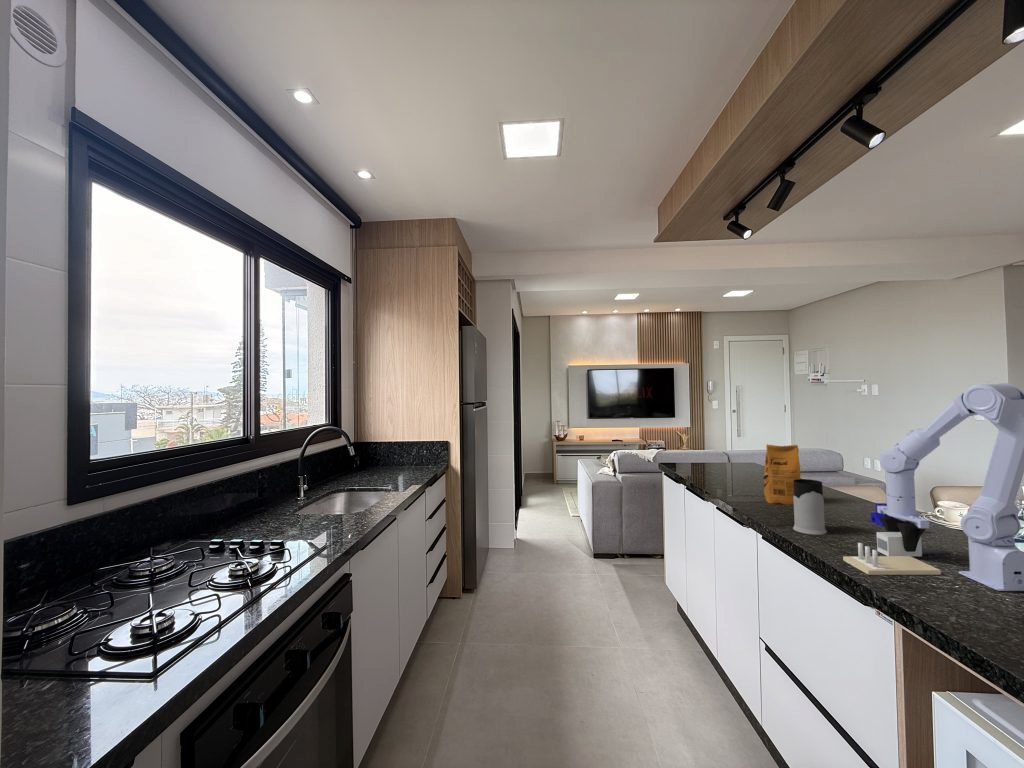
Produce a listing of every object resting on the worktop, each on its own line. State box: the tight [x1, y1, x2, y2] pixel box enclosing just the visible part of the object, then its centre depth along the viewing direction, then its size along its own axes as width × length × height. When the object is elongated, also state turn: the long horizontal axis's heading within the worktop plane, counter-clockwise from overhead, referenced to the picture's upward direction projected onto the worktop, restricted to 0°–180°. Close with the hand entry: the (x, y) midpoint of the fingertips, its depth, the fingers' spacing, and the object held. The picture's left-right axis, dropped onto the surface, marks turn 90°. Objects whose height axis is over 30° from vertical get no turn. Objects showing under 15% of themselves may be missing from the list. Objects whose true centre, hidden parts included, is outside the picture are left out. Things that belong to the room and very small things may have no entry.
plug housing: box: [876, 531, 942, 557], centre depth 117 cm, size 4×14×5 cm, turn 86°
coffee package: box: [762, 443, 801, 506], centre depth 173 cm, size 10×12×22 cm
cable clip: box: [870, 502, 906, 528], centre depth 140 cm, size 12×4×6 cm, turn 169°
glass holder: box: [792, 478, 828, 536], centre depth 142 cm, size 9×14×15 cm, turn 167°
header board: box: [842, 542, 942, 576], centre depth 110 cm, size 9×16×5 cm, turn 86°
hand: (903, 548), depth 117 cm, fingers closed on plug housing, 4 cm apart
